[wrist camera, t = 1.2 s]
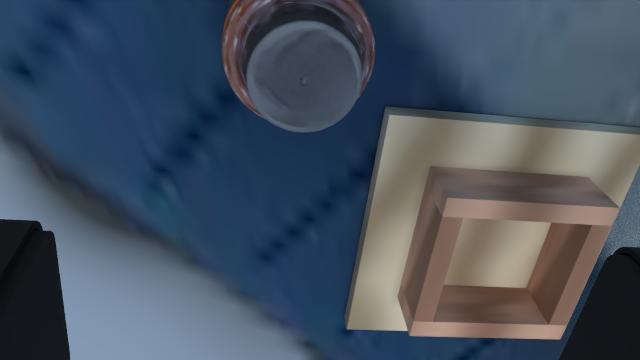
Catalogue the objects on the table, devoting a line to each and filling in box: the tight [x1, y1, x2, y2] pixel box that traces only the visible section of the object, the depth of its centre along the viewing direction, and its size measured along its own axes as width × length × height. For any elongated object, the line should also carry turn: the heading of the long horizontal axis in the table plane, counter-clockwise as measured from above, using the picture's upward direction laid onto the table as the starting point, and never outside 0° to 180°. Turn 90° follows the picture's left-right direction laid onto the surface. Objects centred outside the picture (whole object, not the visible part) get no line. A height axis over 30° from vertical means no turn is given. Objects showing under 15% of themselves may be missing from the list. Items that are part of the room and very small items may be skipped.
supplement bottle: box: [222, 0, 375, 133], centre depth 24 cm, size 6×6×11 cm
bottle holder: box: [345, 106, 640, 339], centre depth 35 cm, size 16×16×5 cm
